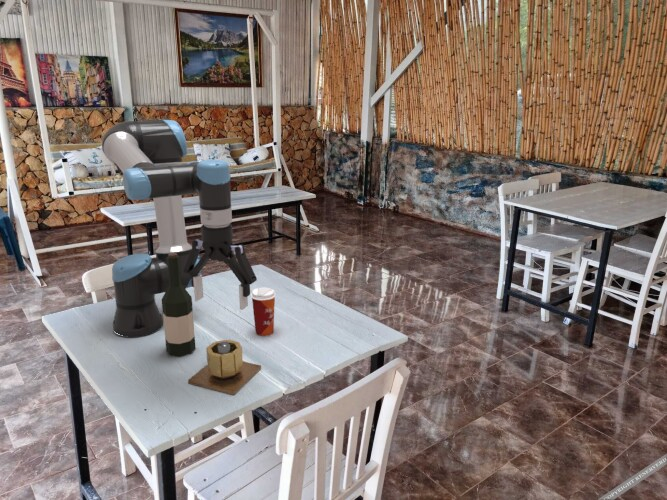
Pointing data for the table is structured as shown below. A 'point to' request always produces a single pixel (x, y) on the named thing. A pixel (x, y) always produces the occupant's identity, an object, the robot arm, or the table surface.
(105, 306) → the table surface
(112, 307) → the table surface
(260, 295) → the paper cup
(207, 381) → the doorknob
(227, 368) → the collar
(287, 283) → the table surface
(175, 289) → the wine bottle
